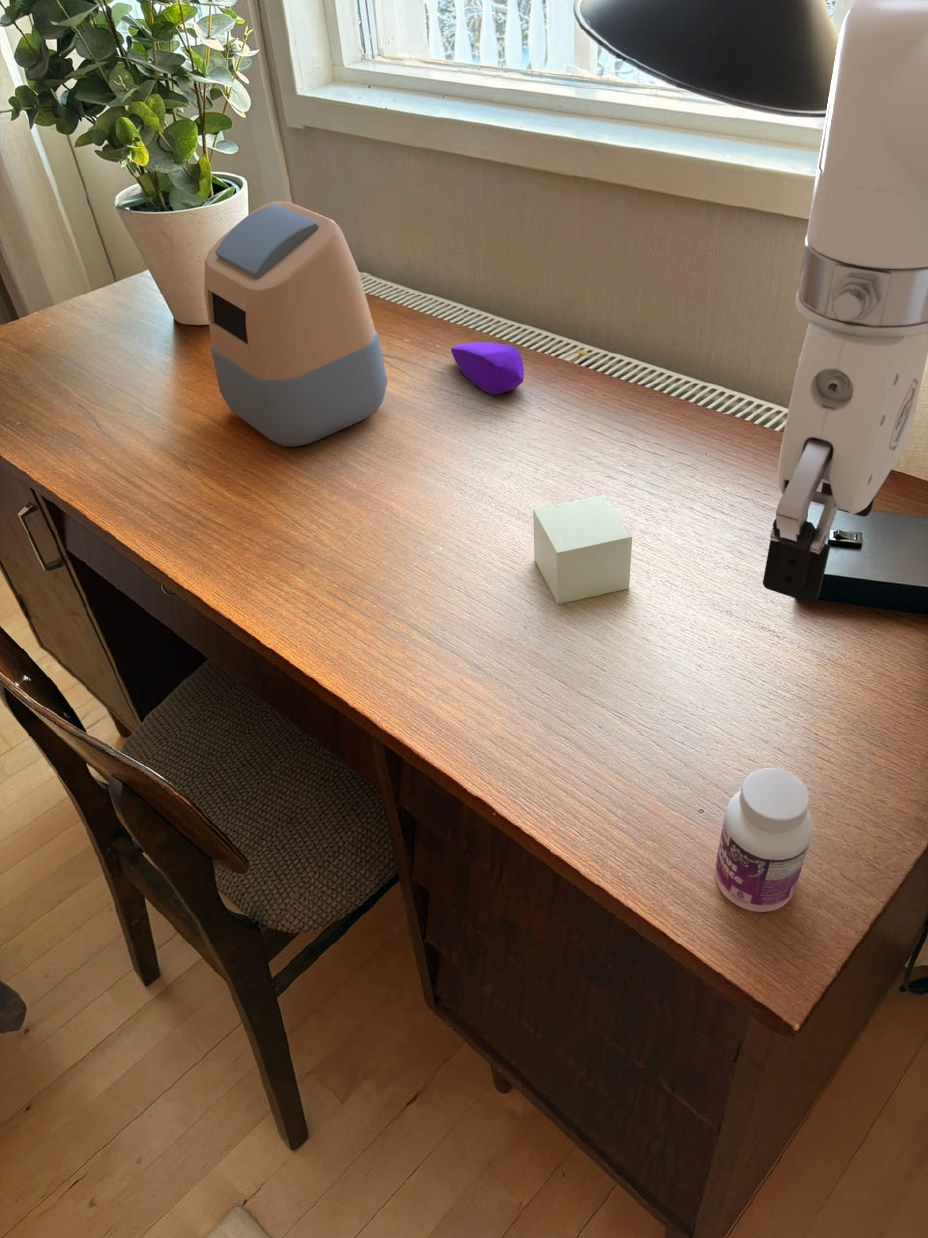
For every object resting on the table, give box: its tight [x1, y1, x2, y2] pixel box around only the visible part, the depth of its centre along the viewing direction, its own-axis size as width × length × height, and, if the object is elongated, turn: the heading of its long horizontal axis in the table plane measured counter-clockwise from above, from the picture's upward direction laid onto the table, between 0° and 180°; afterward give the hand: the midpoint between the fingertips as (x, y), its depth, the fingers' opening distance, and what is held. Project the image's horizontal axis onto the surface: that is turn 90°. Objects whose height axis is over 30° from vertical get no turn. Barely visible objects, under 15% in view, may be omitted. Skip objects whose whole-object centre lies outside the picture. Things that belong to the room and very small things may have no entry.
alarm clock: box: [203, 200, 388, 447], centre depth 108 cm, size 17×17×23 cm
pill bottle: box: [714, 767, 814, 913], centre depth 61 cm, size 5×5×10 cm
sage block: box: [532, 494, 633, 605], centre depth 87 cm, size 7×7×6 cm
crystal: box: [450, 341, 525, 396], centre depth 118 cm, size 5×5×15 cm
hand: (818, 549), depth 59 cm, fingers open, 9 cm apart
